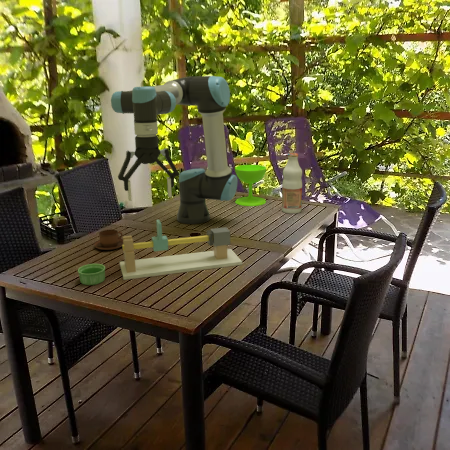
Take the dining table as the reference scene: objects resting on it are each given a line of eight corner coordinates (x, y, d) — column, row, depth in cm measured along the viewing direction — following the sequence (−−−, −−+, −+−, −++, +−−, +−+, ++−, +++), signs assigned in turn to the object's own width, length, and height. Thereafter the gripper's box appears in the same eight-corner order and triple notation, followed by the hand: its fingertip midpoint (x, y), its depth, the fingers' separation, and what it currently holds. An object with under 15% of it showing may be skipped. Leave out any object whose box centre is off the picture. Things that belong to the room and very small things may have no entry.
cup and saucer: (107, 240, 210) (106, 226, 208) (131, 244, 205) (130, 229, 203) (88, 249, 200) (86, 235, 198) (112, 254, 195) (111, 239, 193)
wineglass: (250, 208, 253) (250, 172, 247) (228, 201, 264) (228, 167, 259) (272, 202, 263) (272, 167, 257) (250, 196, 274) (250, 163, 269)
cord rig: (119, 264, 184) (117, 232, 180) (230, 251, 195) (230, 221, 191) (123, 279, 171) (120, 245, 167) (242, 264, 182) (242, 232, 178)
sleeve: (152, 247, 181) (150, 220, 178) (166, 245, 182) (164, 218, 179) (154, 251, 176) (152, 224, 173) (168, 250, 177) (167, 223, 174)
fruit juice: (277, 210, 247) (278, 153, 238) (292, 207, 252) (293, 151, 244) (290, 215, 240) (292, 156, 231) (305, 211, 245) (307, 154, 236)
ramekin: (90, 273, 177) (88, 262, 175) (111, 277, 173) (110, 265, 172) (73, 283, 169) (71, 271, 167) (95, 287, 165) (94, 275, 164)
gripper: (108, 138, 159) (113, 204, 166) (186, 134, 167) (188, 197, 173) (106, 135, 166) (111, 198, 173) (181, 132, 173) (183, 192, 180)
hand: (150, 198), depth 173 cm, fingers open, 13 cm apart
